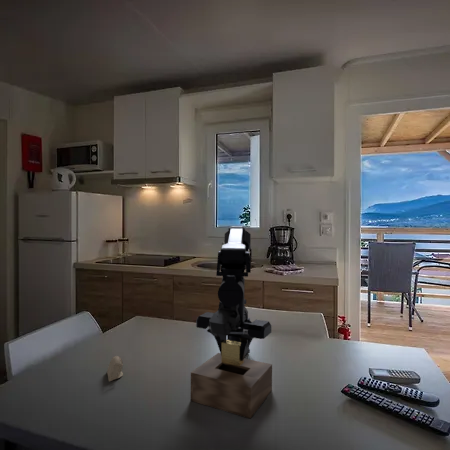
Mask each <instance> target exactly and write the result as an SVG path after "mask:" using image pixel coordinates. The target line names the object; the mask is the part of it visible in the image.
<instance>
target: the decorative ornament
mask: <svg viewBox="0 0 450 450" xmlns="http://www.w3.org/2000/svg"><path fill="white" fill-rule="evenodd" d="M123 366H124V364H123V360H122V358H121V356H118V355H115V356H113V357H112V358H111V360H110V361H109V365H108V367H107V371H106V373H107V379H108V382H109V383H110V382H113V381H114V380H117V379H119V378H121V377H123V375H124V373H123V371H122V370H123Z"/></svg>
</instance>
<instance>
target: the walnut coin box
mask: <svg viewBox="0 0 450 450" xmlns="http://www.w3.org/2000/svg"><path fill="white" fill-rule="evenodd" d="M221 357H222V356H221V353H220V352H217V353H216V354H215V355H213V356H211V357H210V358H209V359H208V360H206V361H205V362H203V363H202V364H201V365H199V366H197V367H196V368H195V369H194V370H192V371H191V372H190V401H191V402H194V403H197V404H200V405H203V406H206V407H207V406H208V407H210V408H213V409H217V410H220V411H223V412H227V413H230V414H233V415H237V416H239V417H242V418H246V419H252V418H253V416H254V415H255V414H256V413H257V411H259V409H260V408H261V406H262V405H263V403H264V402H265V401H266V400H267V398H268V397H269V395H270V394H271V393H272V391H273V364H271V363H267V362H264V361H258V360H254V359H249V358H246V357H245V358H244V363H243V364H242V365H240V366H235V365H231V364H227V363H222V362H221Z"/></svg>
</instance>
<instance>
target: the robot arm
mask: <svg viewBox="0 0 450 450" xmlns="http://www.w3.org/2000/svg"><path fill="white" fill-rule="evenodd" d="M251 237H252V235H251V232H249V231H247V230H246V227H245V226H244V225H241V226H240V225H231V226H228V230H227V231H226V232H225V233H224V238H223V239H224V241H223V244H222V245H221V247H220V250H219V251H218V252H217V264H216V272H215V273H216V277H221V283H220V285H219V287H218V290H217V297H218V300H219V304H218V308H217V310H216V311H215V312H211V311H207V312H204V313H203V314H200V315H198V316H197V317H196V321H195V327H196V329H197V328H198V329H203V330H206V329H207V330H206V331H207V333H210V334H211V335H212V336H213V337H214V339H215V341H216V344H217V347H218V350H219V353H221V356H222V342H223V341H225V340H231V341H236V342H241V352H240V357H241V361H243V360H244V358H245V359H246V356H247V354H248V353H249V352H250V351H251V350H250V345H251V343H252V341H253V339H259V340H264V339H266V338H267V337H268V336H269V335H270V334H271V333H272V325H271V322H270V321H268V320H262V319H255V320H253V321H251V318H250V317H249V311H248V309H247V308H246V306H245V305H246V304H247V299H245V286H246V285H245V284H246V283H245V280H246V279H245V278H247V277H249V273H251V270H252V268H251V267H252V266H251V265H252V261H251V260H252V258H251V257H252V256H251V255H250V252H249V250H251V247H252V246H251V245H252V243H251V242H252V241H251V240H252V239H251Z"/></svg>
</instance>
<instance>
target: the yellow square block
mask: <svg viewBox="0 0 450 450" xmlns="http://www.w3.org/2000/svg"><path fill="white" fill-rule="evenodd" d="M240 352H241V342H236V341H231V340H227V339H226V340H225V341H223V342H222V357H221V362H222V363H227V364H231V365H235V366H240V365H242V364H243V363H244V360H243V361H241V357H240Z"/></svg>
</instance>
